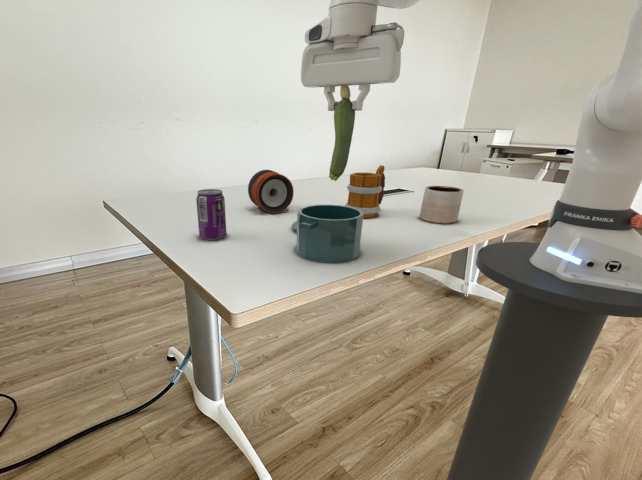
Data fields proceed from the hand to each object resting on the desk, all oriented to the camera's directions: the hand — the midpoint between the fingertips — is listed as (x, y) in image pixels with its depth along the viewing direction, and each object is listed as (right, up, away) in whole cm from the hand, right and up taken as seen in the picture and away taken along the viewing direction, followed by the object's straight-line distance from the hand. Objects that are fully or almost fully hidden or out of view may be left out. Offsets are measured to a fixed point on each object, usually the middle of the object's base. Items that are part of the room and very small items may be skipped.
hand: (344, 110), depth 70 cm
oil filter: (-16, -11, +49) cm, 52 cm away
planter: (+37, -16, +38) cm, 55 cm away
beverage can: (-31, -24, +21) cm, 44 cm away
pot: (-2, -28, +11) cm, 30 cm away
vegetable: (0, -13, +6) cm, 14 cm away
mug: (+16, -13, +45) cm, 49 cm away
